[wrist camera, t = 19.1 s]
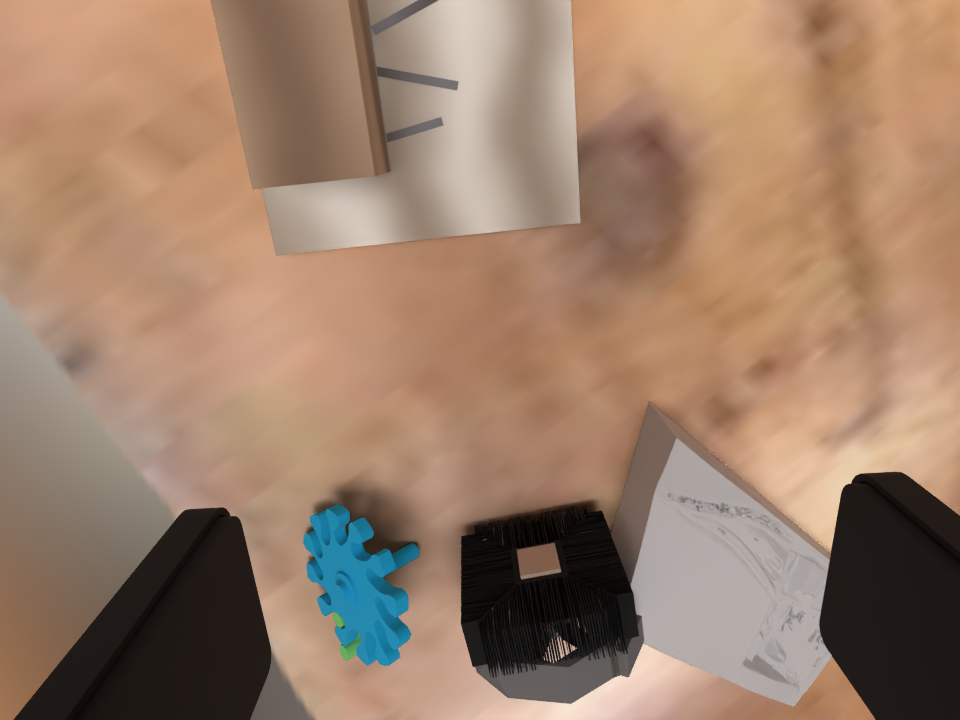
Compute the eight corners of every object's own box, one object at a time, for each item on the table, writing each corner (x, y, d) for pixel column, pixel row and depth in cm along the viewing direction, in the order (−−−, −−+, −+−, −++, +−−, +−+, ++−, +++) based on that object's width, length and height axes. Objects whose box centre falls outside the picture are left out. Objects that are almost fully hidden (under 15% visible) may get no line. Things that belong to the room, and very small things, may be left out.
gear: (300, 480, 36) (402, 591, 30) (378, 450, 40) (481, 542, 34) (290, 604, 41) (376, 718, 35) (361, 566, 45) (448, 663, 39)
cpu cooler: (468, 589, 41) (471, 724, 31) (451, 522, 39) (447, 643, 30) (615, 562, 41) (662, 690, 31) (605, 492, 39) (651, 606, 29)
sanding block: (361, -38, 26) (334, -89, 21) (391, 171, 30) (375, 176, 24) (251, -26, 26) (194, -74, 21) (292, 181, 30) (252, 189, 24)
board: (557, -134, 27) (564, -156, 25) (573, 218, 33) (580, 223, 31) (213, -96, 27) (194, -115, 25) (286, 249, 33) (275, 255, 31)
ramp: (888, 643, 44) (944, 707, 39) (696, 725, 47) (725, 796, 42) (752, 340, 36) (801, 372, 31) (526, 460, 38) (536, 508, 33)
